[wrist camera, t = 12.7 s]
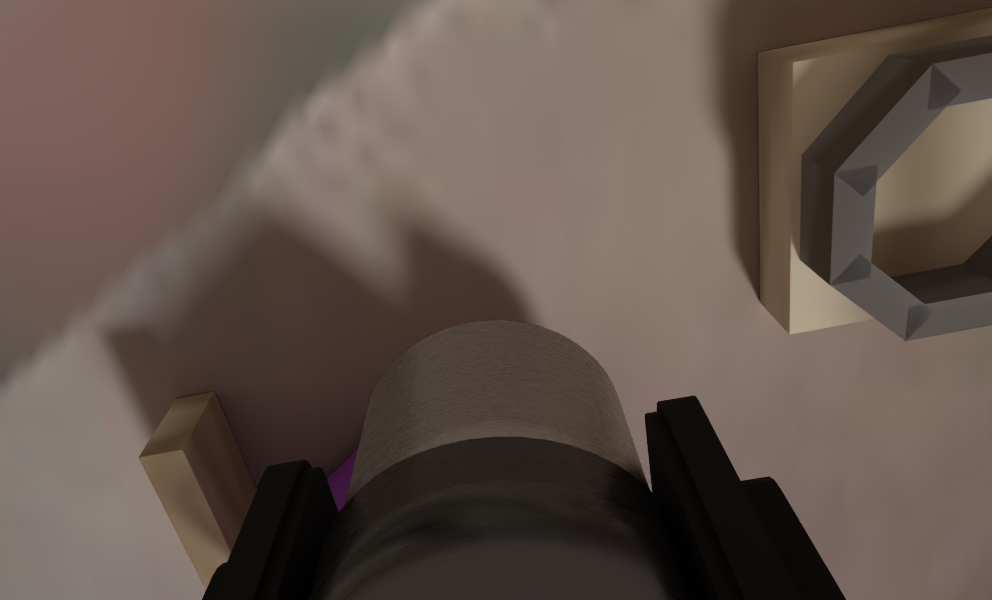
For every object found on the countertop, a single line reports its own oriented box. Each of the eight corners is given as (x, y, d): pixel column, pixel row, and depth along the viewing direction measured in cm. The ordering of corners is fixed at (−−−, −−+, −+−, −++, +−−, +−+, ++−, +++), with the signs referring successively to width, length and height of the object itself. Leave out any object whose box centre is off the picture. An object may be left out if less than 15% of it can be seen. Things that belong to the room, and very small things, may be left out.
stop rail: (214, 391, 26) (182, 449, 23) (320, 639, 32) (306, 712, 29) (175, 398, 26) (138, 457, 23) (288, 645, 32) (271, 718, 29)
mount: (1041, -3, 22) (1176, 5, 18) (1000, 258, 26) (1103, 312, 22) (757, 52, 22) (827, 72, 18) (760, 302, 26) (817, 364, 22)
